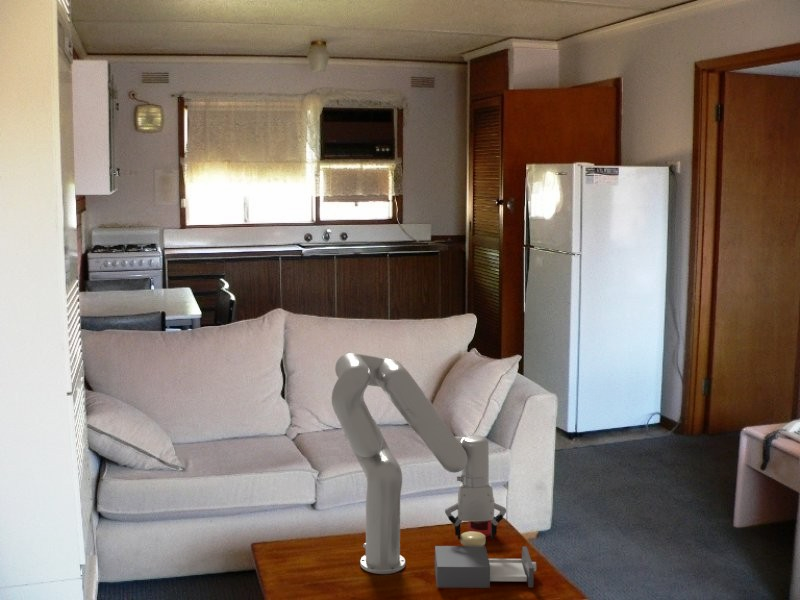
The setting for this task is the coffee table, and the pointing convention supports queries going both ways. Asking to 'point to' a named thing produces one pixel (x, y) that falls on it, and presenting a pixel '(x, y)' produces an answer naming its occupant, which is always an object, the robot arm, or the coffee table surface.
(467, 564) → the housing
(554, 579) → the coffee table surface
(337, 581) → the coffee table surface
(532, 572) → the drawer
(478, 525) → the canned food
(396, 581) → the coffee table surface
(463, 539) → the cream domed disc
